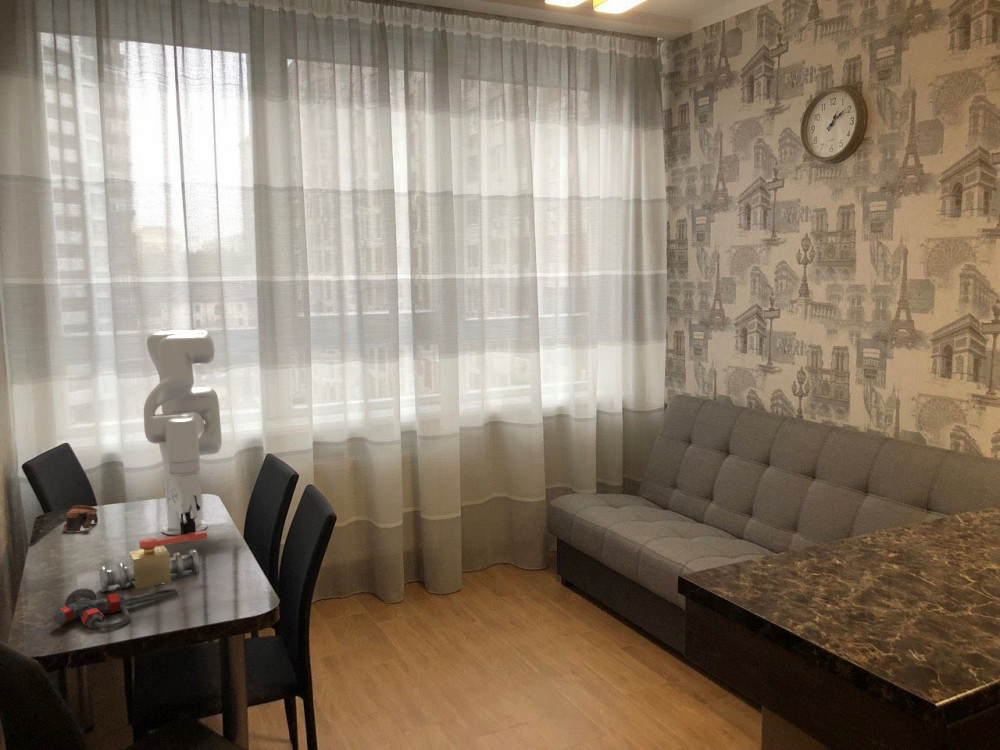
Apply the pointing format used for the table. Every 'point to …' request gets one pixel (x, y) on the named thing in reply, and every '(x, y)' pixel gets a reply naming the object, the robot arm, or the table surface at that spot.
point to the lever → (172, 539)
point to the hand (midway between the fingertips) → (188, 536)
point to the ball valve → (149, 568)
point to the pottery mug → (80, 517)
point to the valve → (102, 606)
